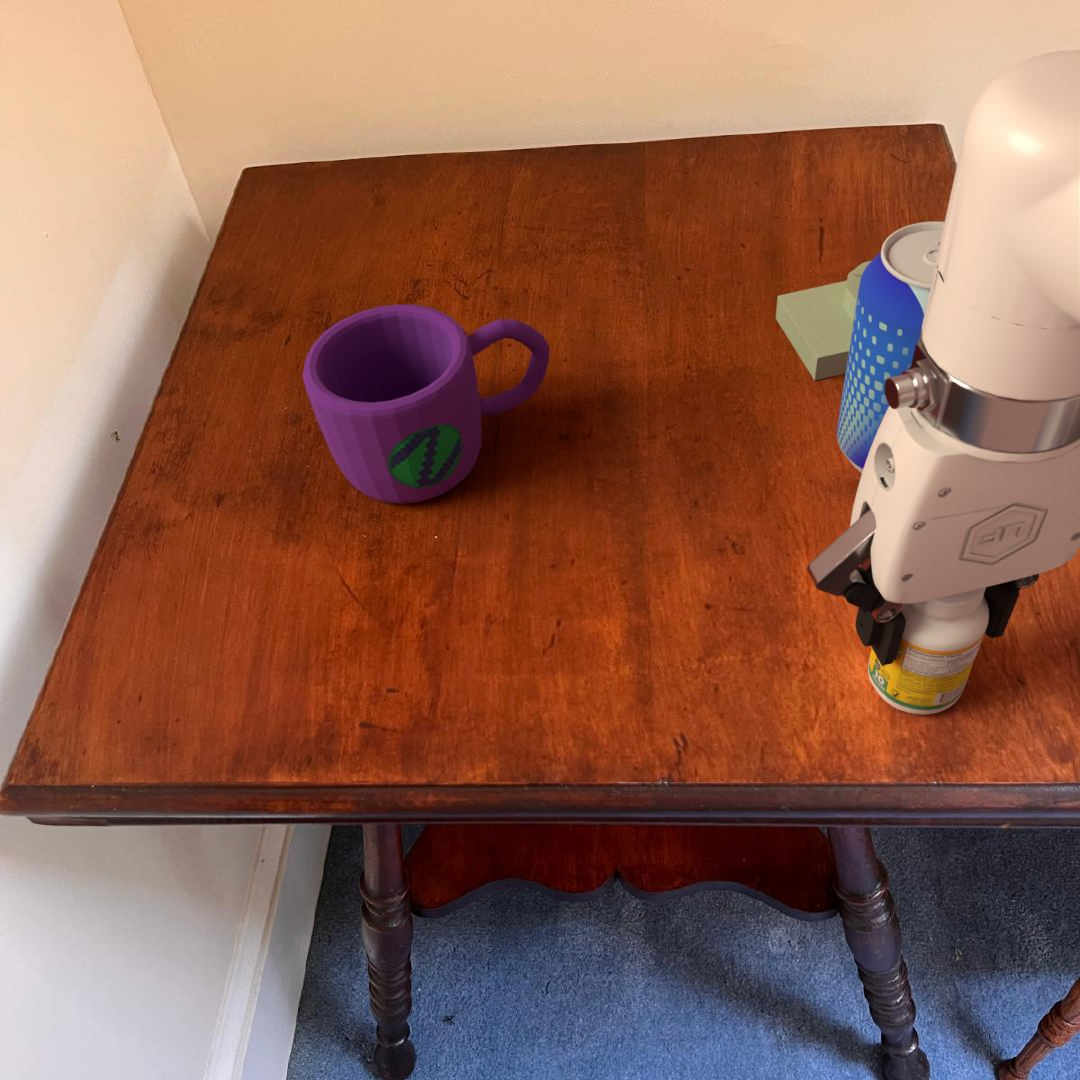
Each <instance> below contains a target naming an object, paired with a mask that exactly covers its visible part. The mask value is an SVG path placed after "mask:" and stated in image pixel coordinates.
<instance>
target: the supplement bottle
mask: <svg viewBox="0 0 1080 1080" xmlns="http://www.w3.org/2000/svg"><path fill="white" fill-rule="evenodd" d="M985 589H986V587H984V588H980V589H976V590H972V591H968V592H964V593H959V594H955V595H951V596H947V597H943V598H938V599H934V600H929V601H924V602H919V603H909V604H905V605H904V607H903V608H902V609H901V612H902V614H903V615H904V617H905V620H906V625H905V629H904V632H903V636H902V639H901V643H900V646H899V650H898V654H897V657H896V660H894V662H893V663H892V664H888V665H884V666H883V665H881V663H880V661H879V660H878V658H877V656H876V654H875V652H874V650H873V648H872V647H871V650H870V653H869V658H868V664H867V674H868V675H867V676H868V678H869V681H870V683H871V685H872V686H873V689H874V690H875V691H876V693H877V694H878V695H879V697H881V699H882V700H883V701H884V702H886V703H887V704H888V705H890V706H892V707H893V708H895V709H896V710H899V711H901V712H905V713H908V714H912V715H922V716H923V715H925V716H927V715H934V714H937V713H940V712H943V711H946V710H947V709H949V708H951V707H952V706H953V705H955V704H956V702H957V701H959V699H960V697H961V695H962V694H963V692H964V690H965V687H966V685H967V682H968V679H969V677H970V674H971V670H972V668H973V665H974V661H975V659H976V657H977V655H978V652H979V649H980V648H981V647H980V646H981V644H982V642H983V639H984V637H985V635H986V634H985V631H986V628H987V625H988V621H989V608H988V604H987V601H986V599H985V597H984V592H985Z"/></svg>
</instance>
